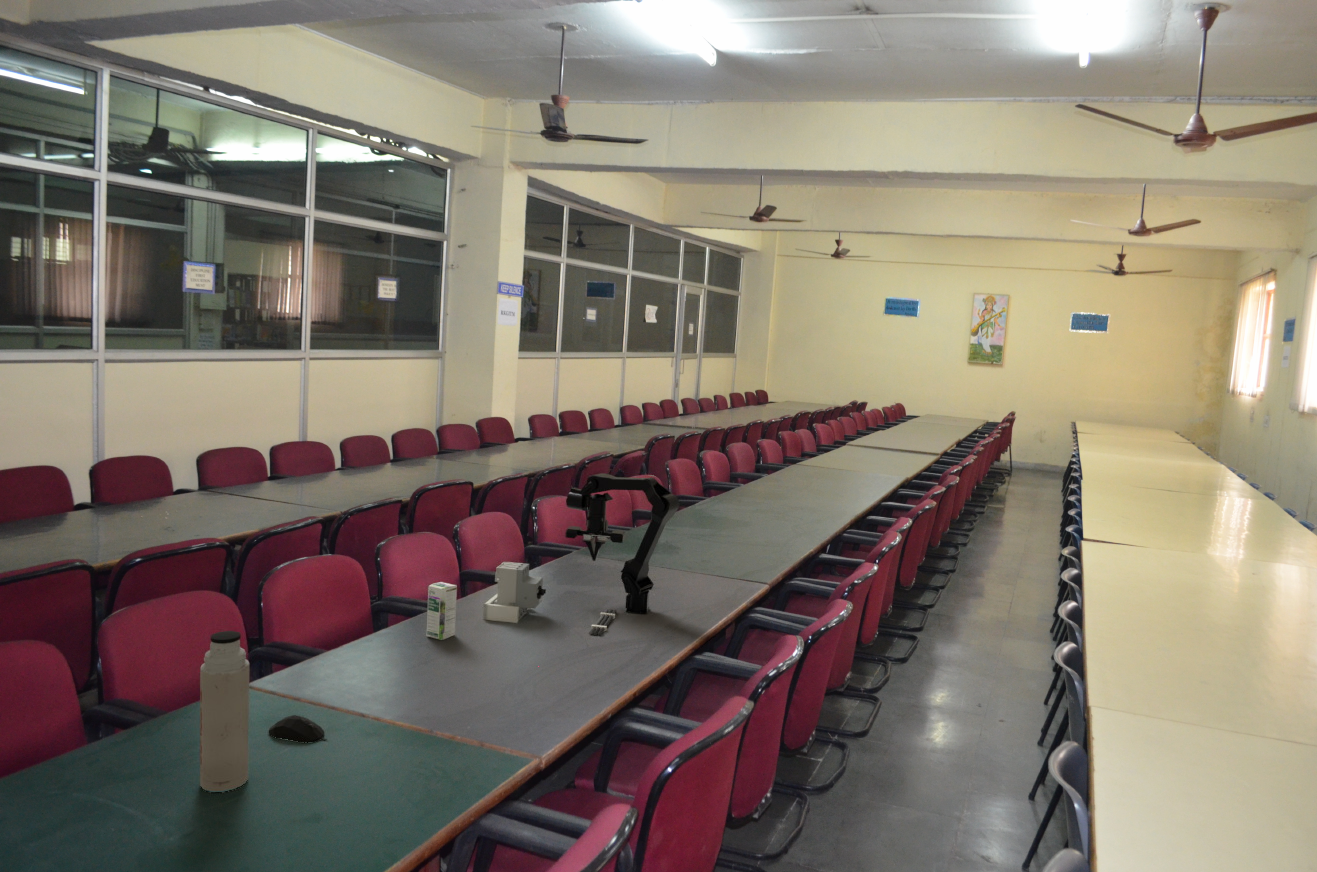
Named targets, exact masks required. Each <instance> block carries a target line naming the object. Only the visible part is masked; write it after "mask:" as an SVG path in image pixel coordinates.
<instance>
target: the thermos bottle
mask: <svg viewBox="0 0 1317 872" xmlns="http://www.w3.org/2000/svg"><path fill="white" fill-rule="evenodd" d="M240 639H241V632H239V631H234V630H223V631H219V632H215V633H213V634H212V635H210V644H209V650H207V651H206V652H205V654H204V658H203V661H204V663H202V664H201V666H200V668H199V669H200V672H199V674H200V676H199V679H200V681H199V684H200V685H199V686H200V687H199V688H200V689H199V690H200V692H199V694H200V697H199V699H200V701H199V708H200V709H199V710H200V712H199V719H200V720H199V727H200V728H199V730H200V731H199V739H200V740H199V772H200V773H199V786H201V787H202V788H203V789H205V790H210V791H223V790H228V789H234V788H237V787H239V786H241V785H243V784H244V783H245V782H246V781H247V780H248V781H249V766H250V765H249V758H250V757H249V755H250V754H249V751H250V750H249V747H250V746H249V727H250V662H249V660H248V659H247V656H246V655H247V652H246V650H245V649H244V648H242V647H241V641H240ZM248 781H247V782H248ZM243 786H244V785H243ZM201 787H200V788H201Z"/></svg>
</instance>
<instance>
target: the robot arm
mask: <svg viewBox="0 0 1317 872" xmlns="http://www.w3.org/2000/svg"><path fill="white" fill-rule="evenodd" d="M608 491H642V492H643V493H644V494H645V497H646V499H647V501H648V502H649V504H650V505H651V510H650V514H651V519H650V522H649V524H648V527H647V529H646V531H645V533H644V536H643V538H642V540H641V543H639V544H640V545H639V546H638V549H637V551H636V554H635V556H634V558H630V559H628V560H626V561H625V562H624V565H623V567H622V569H621V570H620V573H621V575H620V580H621V581H622V583H623V587H624V591H625V593H626V596H625V609H626V610H625V612H626V613H632V614H633V613H634V614H642V615H647V614H648V612H649V610H650V606H649V602H650V591H651V590H653V587H654V584H655V583H653V580H651V578H650V577H649V571H650V567H649V566H650V564H649V562H650V559H651V557H652V555H653V554H654V551H655V548H656V547H657V544H658V542H659V540H660V538H661V536H662V533H663V531H664V528H665V527H666V524H667V523H668V522H670V520H671V519H672V518H673V517H674V515H675V514H676V513H677V511H678V510H679V508H680V504H681V503H680V501H679V498H678V497H677V496H676V495H675V494H673V493H672V492H671V491H670V490H669V489H668V488H666V487H665V486H663V485H662V484H661V483H659V481H658V480H657V479H656V478H654V477H653V476H650V477H619V476H614V475H613V474H608V473H604V472H603V473H598V474H597V473H596V474H592V475H589V476H588V478H587V480H586V483H585V484H584V486H583V487H582V488H581V489H580V488H578V487H571V488H570V492H569V493H568V494H567V497H566V500H565V504H566V506H567V508H568V509H573V510H578V511H582V512H584V511H586V510H587V517H586V530H584V529H583V528H582V527H581V526H577V525H575V526H573V525H571V526H569V527H568V528H567V529H566V530H565V534H564V537H565V538H567V539H576V538H577V536H580V537H583V539H582V542H583V543H585V545H586V546H587V549H588V550H589V554H590V557H591V560H592V561H593V562H596V561H597V559H598V555H599V553H600V550H601V549H602V546H603V545H604V544H606V543H607V542H608V540H610V541H611V542H612V543H618V544H622V543H624V541H625V540H626V537H627V536H626V535H627V533H626V531H625V530H617V529H613V531H612V532H608V531H609V529H608V528H609V521H608V520H607V514H606V513H607V502H610V501H612V500H614V499H613V497H612V496H611V495H610V494H609V493H608ZM602 492H604V493H602ZM593 494H594V495H593ZM596 538H597V540H596Z"/></svg>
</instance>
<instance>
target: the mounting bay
mask: <svg viewBox="0 0 1317 872" xmlns="http://www.w3.org/2000/svg"><path fill="white" fill-rule="evenodd" d="M496 600H497V593H496V594H495V595H494V596H492V597H491V598H490V599H488V600H487V601H486V602H485V603H483V616H482V618H483V619H482V620H487V621H495V622H503V623H514V624H518V623H519V619H518V613H519V607H515V606H506V605H496V604H494V601H496ZM531 610H532V608H527V611H531Z"/></svg>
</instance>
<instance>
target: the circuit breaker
mask: <svg viewBox="0 0 1317 872" xmlns="http://www.w3.org/2000/svg"><path fill="white" fill-rule="evenodd" d="M495 569H496V571H495V574H494V575H495V576H494V582H496V583H497V591H496V592H497V593H496V594H497V600H496V601H494V604H496V605H506V606H515V607H519V613H518V620H521V619H522V618H523V617H524V615H526V614H527V612H528V610H527V608H531V609H536V608H537V607H538V606H539V605H540V604H541V603H542V601H543V600H542V599H543V596H544V595H545V594H546V591H547V589H544V588H543V584H544V583H543V579H544V578H543V576H531V575H530V563H523V562H511V561H503V562H501V564H500V565H497V567H495Z"/></svg>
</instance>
